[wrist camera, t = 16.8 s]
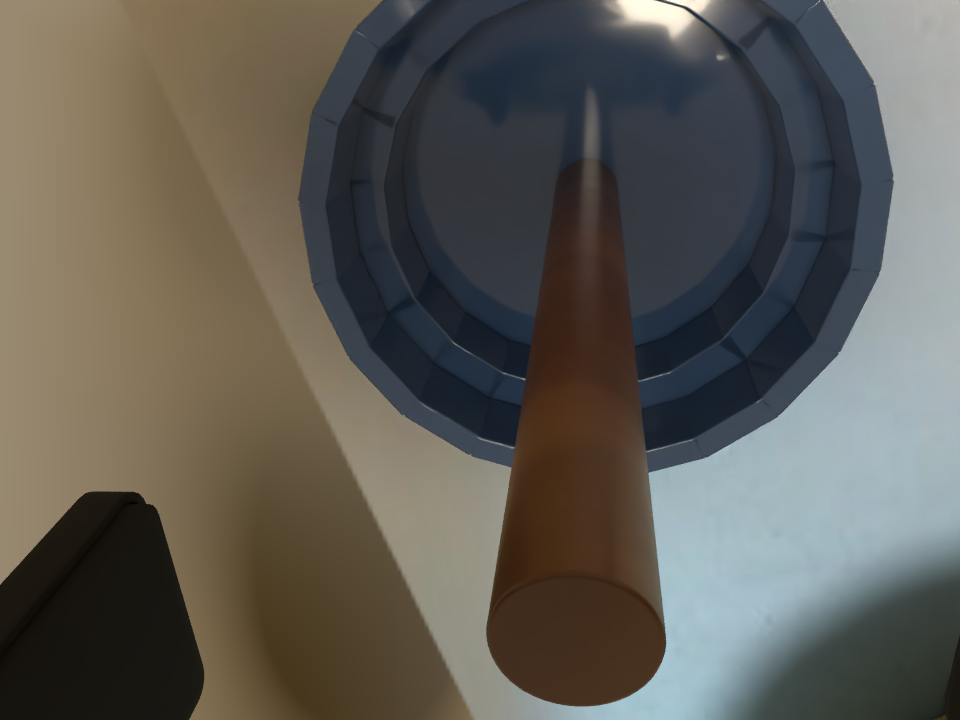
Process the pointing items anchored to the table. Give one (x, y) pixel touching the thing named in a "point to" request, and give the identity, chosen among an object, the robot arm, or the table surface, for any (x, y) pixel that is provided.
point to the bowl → (941, 718)
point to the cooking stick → (580, 475)
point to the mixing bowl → (641, 189)
